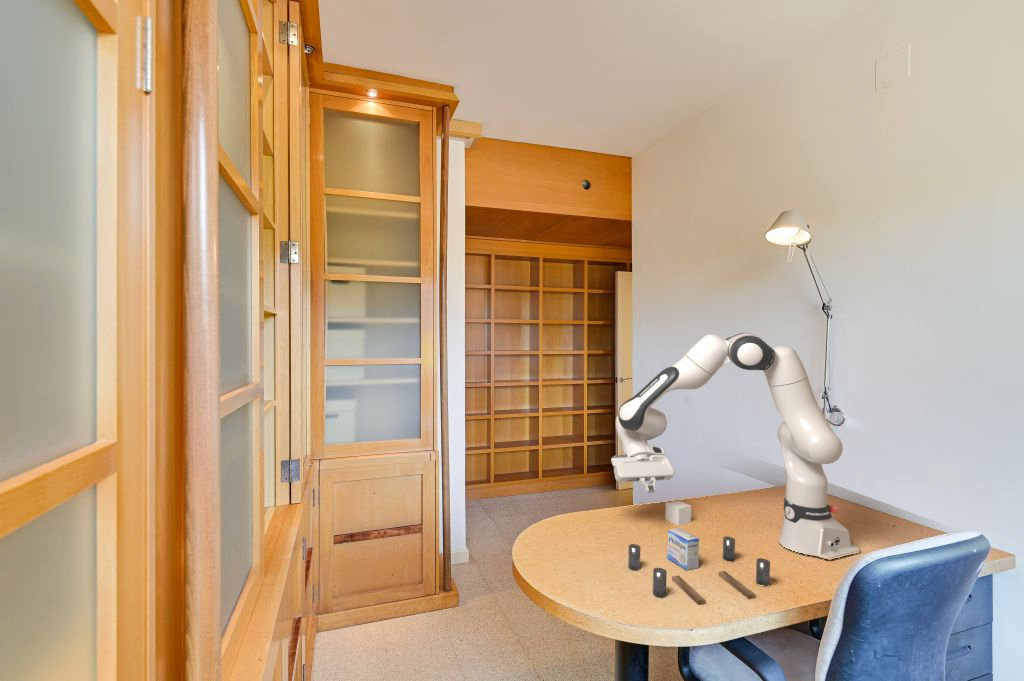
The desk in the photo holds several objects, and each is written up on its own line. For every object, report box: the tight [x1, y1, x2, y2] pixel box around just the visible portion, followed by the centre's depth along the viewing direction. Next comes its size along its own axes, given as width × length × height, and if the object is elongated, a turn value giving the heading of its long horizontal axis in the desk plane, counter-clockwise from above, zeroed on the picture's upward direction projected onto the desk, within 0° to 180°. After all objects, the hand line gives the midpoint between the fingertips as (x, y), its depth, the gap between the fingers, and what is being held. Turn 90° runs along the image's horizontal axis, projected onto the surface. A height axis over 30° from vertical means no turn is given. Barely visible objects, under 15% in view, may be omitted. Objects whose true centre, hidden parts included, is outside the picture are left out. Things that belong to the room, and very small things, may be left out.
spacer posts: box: [627, 536, 771, 599], centre depth 132 cm, size 33×17×6 cm, turn 102°
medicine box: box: [666, 527, 700, 572], centre depth 139 cm, size 8×4×9 cm, turn 25°
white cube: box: [665, 500, 692, 526], centre depth 171 cm, size 6×6×6 cm
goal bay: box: [671, 570, 757, 606], centre depth 125 cm, size 16×12×1 cm
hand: (651, 492), depth 158 cm, fingers closed
